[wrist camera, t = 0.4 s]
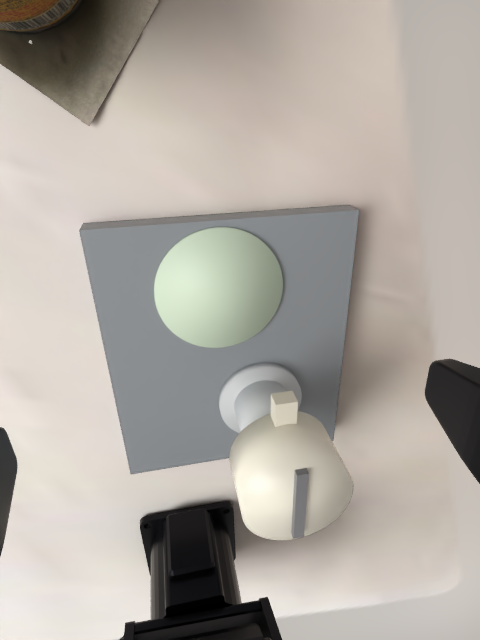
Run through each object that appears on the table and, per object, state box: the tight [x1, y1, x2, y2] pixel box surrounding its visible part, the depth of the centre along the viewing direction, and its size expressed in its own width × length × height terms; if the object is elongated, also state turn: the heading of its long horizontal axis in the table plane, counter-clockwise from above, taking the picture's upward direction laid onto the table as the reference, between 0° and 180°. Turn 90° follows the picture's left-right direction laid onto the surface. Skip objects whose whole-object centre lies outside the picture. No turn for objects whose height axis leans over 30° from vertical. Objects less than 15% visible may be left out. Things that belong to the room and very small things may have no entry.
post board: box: [79, 205, 359, 474], centre depth 21 cm, size 15×13×6 cm
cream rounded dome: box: [229, 391, 353, 540], centre depth 19 cm, size 7×5×3 cm
